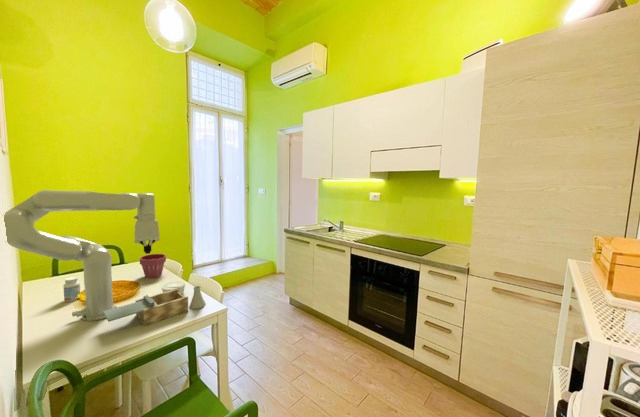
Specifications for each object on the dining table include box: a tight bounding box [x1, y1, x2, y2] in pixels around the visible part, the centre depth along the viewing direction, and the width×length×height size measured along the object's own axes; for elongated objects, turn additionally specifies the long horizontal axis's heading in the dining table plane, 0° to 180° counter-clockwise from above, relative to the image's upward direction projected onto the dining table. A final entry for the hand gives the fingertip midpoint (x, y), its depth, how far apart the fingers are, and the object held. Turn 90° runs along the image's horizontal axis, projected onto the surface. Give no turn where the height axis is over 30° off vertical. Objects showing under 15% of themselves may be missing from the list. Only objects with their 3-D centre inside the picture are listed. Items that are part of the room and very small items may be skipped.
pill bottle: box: [62, 276, 81, 303], centre depth 132 cm, size 6×6×11 cm
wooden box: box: [135, 289, 189, 327], centre depth 121 cm, size 18×13×7 cm
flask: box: [188, 285, 207, 310], centre depth 129 cm, size 7×7×10 cm
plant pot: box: [139, 253, 167, 279], centre depth 167 cm, size 14×14×13 cm
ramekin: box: [161, 281, 186, 295], centre depth 141 cm, size 11×11×5 cm
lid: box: [103, 294, 158, 323], centre depth 112 cm, size 18×10×3 cm, turn 138°
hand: (147, 253), depth 132 cm, fingers closed
